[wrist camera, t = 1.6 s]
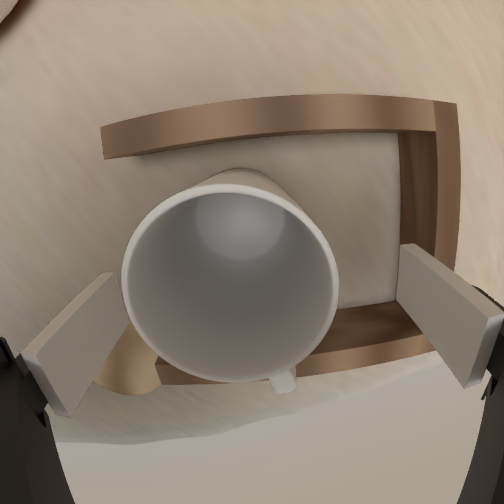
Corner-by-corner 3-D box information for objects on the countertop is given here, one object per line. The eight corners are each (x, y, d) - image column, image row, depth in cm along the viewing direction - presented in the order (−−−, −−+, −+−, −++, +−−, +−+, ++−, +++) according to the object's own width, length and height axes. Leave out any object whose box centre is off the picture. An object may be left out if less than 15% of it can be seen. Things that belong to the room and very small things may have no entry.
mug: (174, 189, 20) (84, 242, 8) (267, 147, 19) (291, 144, 8) (235, 312, 23) (224, 445, 11) (320, 280, 22) (375, 399, 11)
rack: (175, 343, 24) (161, 384, 19) (133, 130, 18) (100, 127, 14) (411, 316, 23) (438, 349, 18) (416, 109, 18) (456, 103, 13)
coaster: (90, 387, 26) (88, 391, 25) (53, 302, 23) (50, 306, 22) (180, 392, 26) (179, 396, 25) (151, 298, 22) (149, 301, 22)
